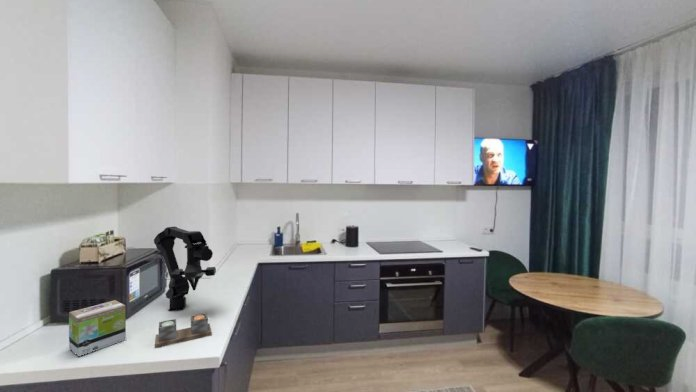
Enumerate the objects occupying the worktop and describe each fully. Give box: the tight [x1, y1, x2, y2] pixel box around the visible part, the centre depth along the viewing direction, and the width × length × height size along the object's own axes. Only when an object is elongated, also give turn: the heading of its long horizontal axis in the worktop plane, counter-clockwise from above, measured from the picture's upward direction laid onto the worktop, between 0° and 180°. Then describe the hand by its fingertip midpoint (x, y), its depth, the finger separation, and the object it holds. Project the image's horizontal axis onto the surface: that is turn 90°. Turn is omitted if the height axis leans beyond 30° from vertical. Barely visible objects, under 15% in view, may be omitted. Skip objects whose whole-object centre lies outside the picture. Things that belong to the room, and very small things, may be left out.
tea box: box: [68, 299, 127, 357], centre depth 117 cm, size 15×10×15 cm
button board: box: [154, 312, 213, 349], centre depth 123 cm, size 20×8×7 cm, turn 121°
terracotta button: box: [194, 314, 205, 320], centre depth 126 cm, size 4×4×2 cm
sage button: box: [162, 320, 174, 327], centre depth 120 cm, size 4×4×2 cm
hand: (194, 290), depth 144 cm, fingers closed
